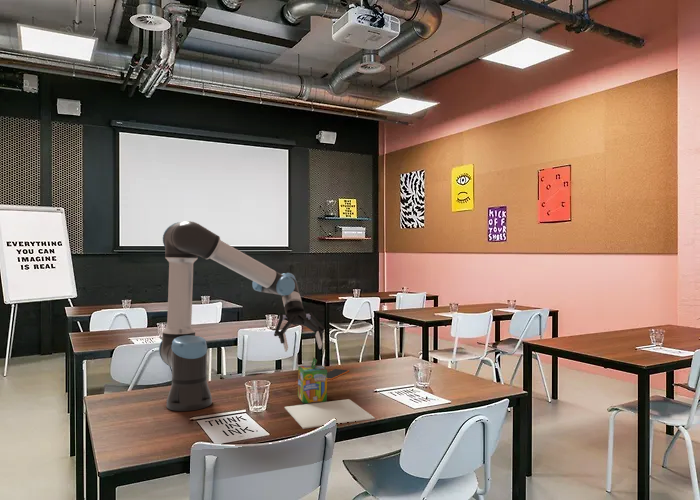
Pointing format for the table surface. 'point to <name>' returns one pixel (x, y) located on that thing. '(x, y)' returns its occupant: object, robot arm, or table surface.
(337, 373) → the smartphone
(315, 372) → the chalk box
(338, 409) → the mat
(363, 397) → the table surface
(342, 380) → the table surface
